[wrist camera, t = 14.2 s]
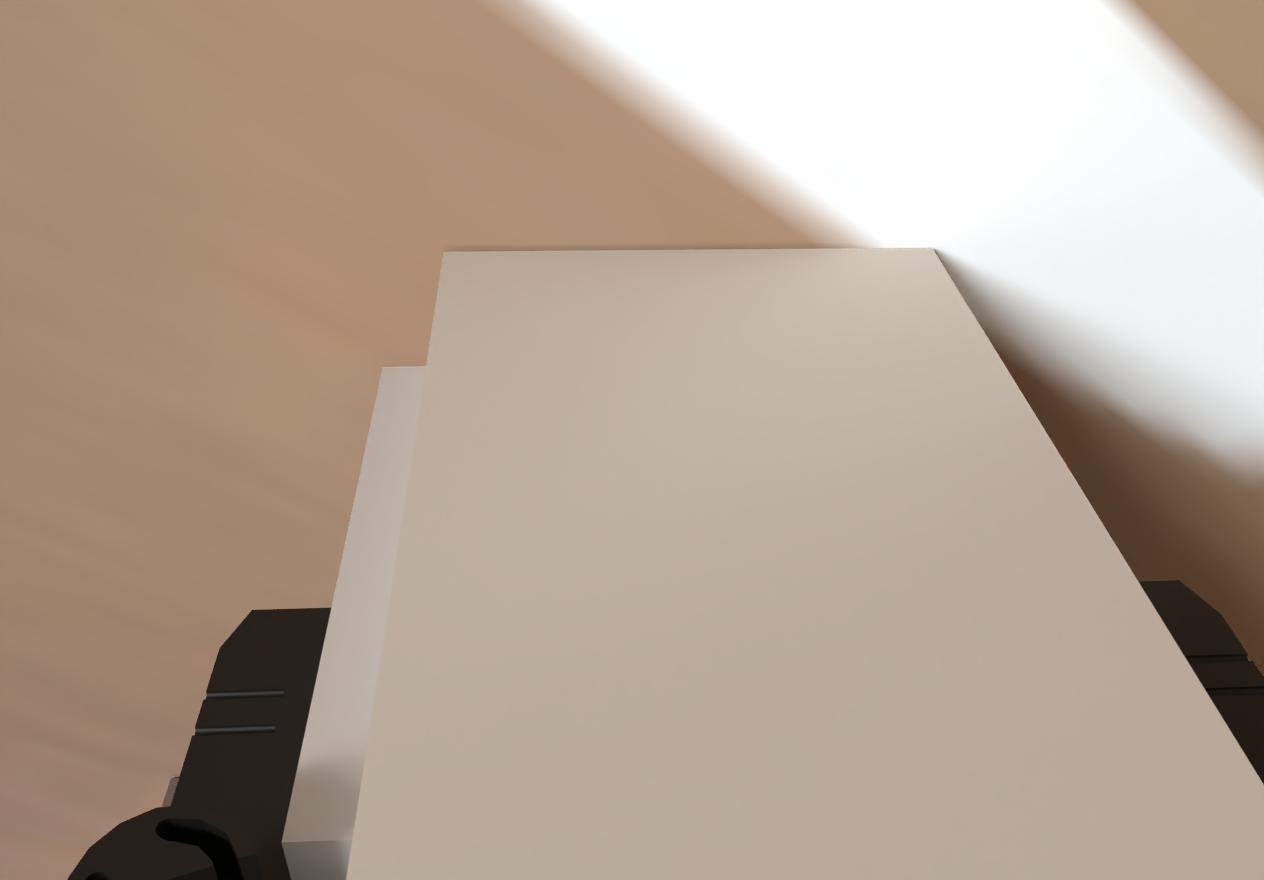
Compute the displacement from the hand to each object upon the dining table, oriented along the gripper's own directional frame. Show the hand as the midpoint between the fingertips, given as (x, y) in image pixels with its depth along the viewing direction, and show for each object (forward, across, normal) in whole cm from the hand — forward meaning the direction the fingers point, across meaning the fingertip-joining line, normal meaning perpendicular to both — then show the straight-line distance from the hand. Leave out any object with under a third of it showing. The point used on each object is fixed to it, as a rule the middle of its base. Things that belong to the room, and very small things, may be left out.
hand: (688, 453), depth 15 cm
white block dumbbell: (+1, 0, -8) cm, 8 cm away
